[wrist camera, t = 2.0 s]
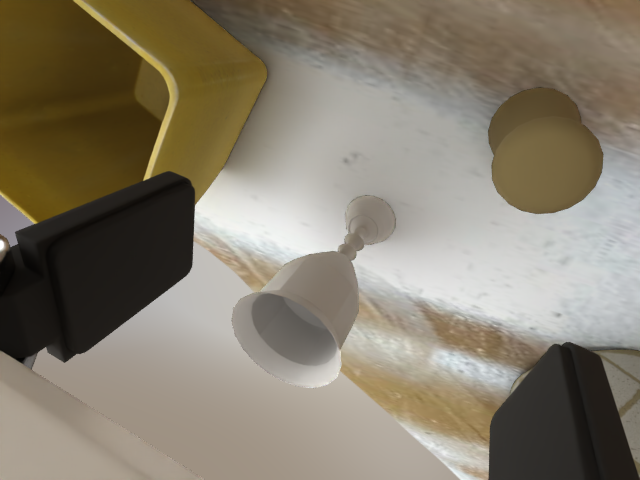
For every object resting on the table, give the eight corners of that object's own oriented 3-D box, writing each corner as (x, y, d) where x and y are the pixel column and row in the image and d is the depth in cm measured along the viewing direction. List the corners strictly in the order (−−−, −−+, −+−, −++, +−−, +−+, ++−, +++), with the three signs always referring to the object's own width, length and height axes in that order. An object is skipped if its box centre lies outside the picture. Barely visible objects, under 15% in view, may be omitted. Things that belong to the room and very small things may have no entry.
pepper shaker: (532, 69, 26) (547, 88, 17) (602, 121, 26) (655, 166, 17) (470, 139, 30) (457, 184, 21) (532, 185, 30) (546, 250, 21)
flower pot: (233, 210, 43) (110, 292, 29) (107, 104, 43) (-72, 137, 30) (317, 61, 32) (182, 82, 18) (147, -81, 32) (-112, -165, 18)
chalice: (420, 212, 34) (362, 344, 20) (386, 263, 38) (315, 405, 24) (352, 172, 35) (247, 270, 21) (325, 226, 39) (221, 341, 24)
